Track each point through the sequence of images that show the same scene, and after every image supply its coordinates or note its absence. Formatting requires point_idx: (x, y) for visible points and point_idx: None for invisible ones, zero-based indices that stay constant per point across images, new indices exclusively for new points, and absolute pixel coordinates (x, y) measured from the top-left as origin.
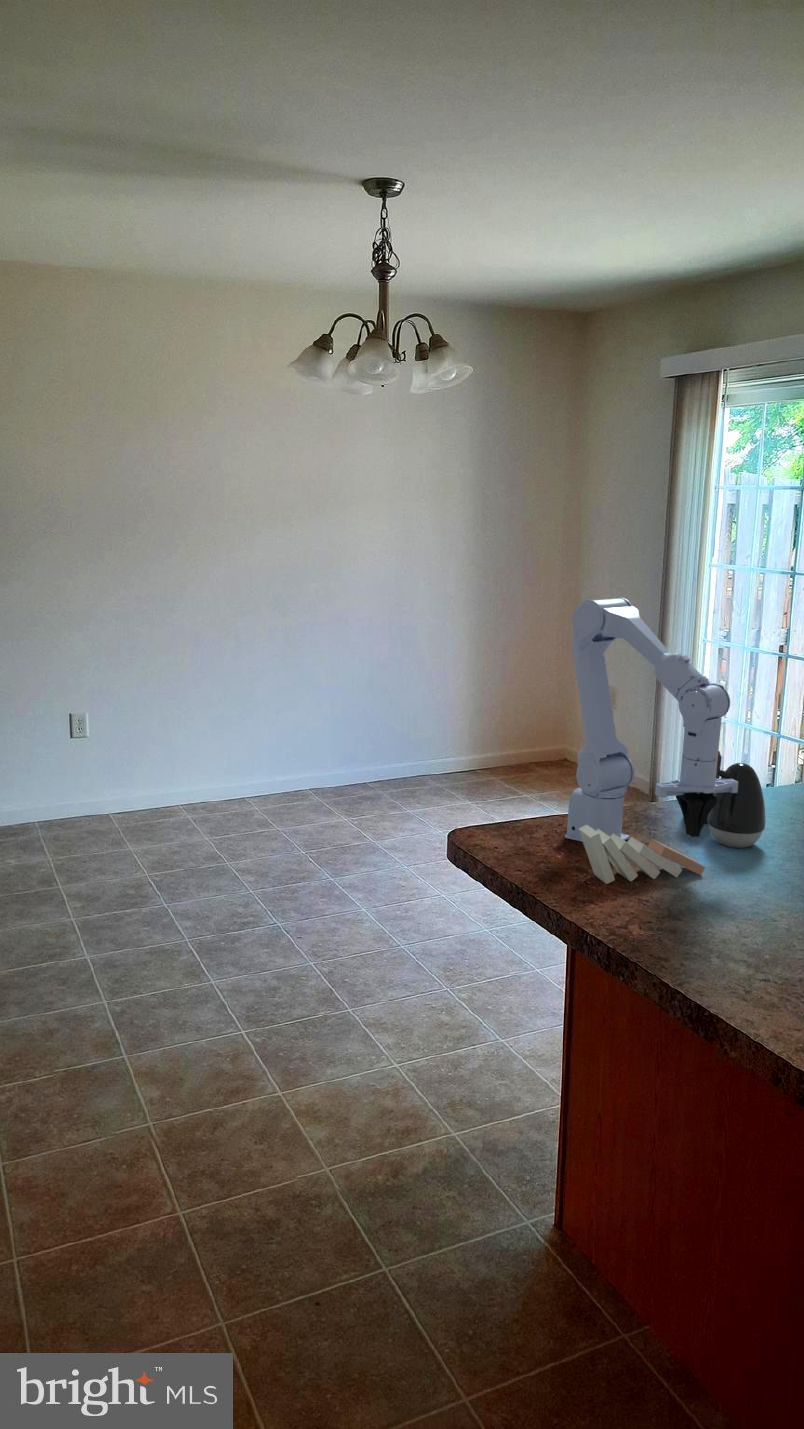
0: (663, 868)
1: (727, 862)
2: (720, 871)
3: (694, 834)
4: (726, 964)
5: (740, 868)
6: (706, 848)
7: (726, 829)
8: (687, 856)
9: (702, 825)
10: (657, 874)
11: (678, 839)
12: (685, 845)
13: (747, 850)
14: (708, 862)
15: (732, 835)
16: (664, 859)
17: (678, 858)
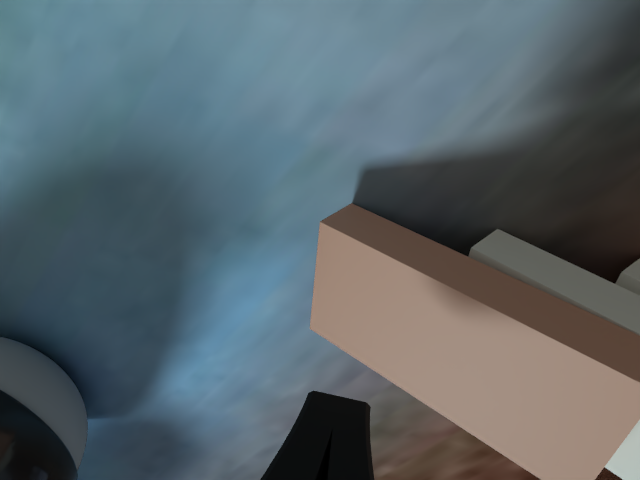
0: (607, 281)
1: (133, 268)
2: (221, 205)
3: (355, 416)
4: None
5: (108, 197)
6: (146, 385)
7: (30, 422)
8: (339, 336)
9: (281, 465)
10: (636, 267)
11: (200, 462)
12: (206, 428)
13: (3, 318)
14: (214, 298)
15: (22, 388)
16: (623, 321)
17: (514, 298)
